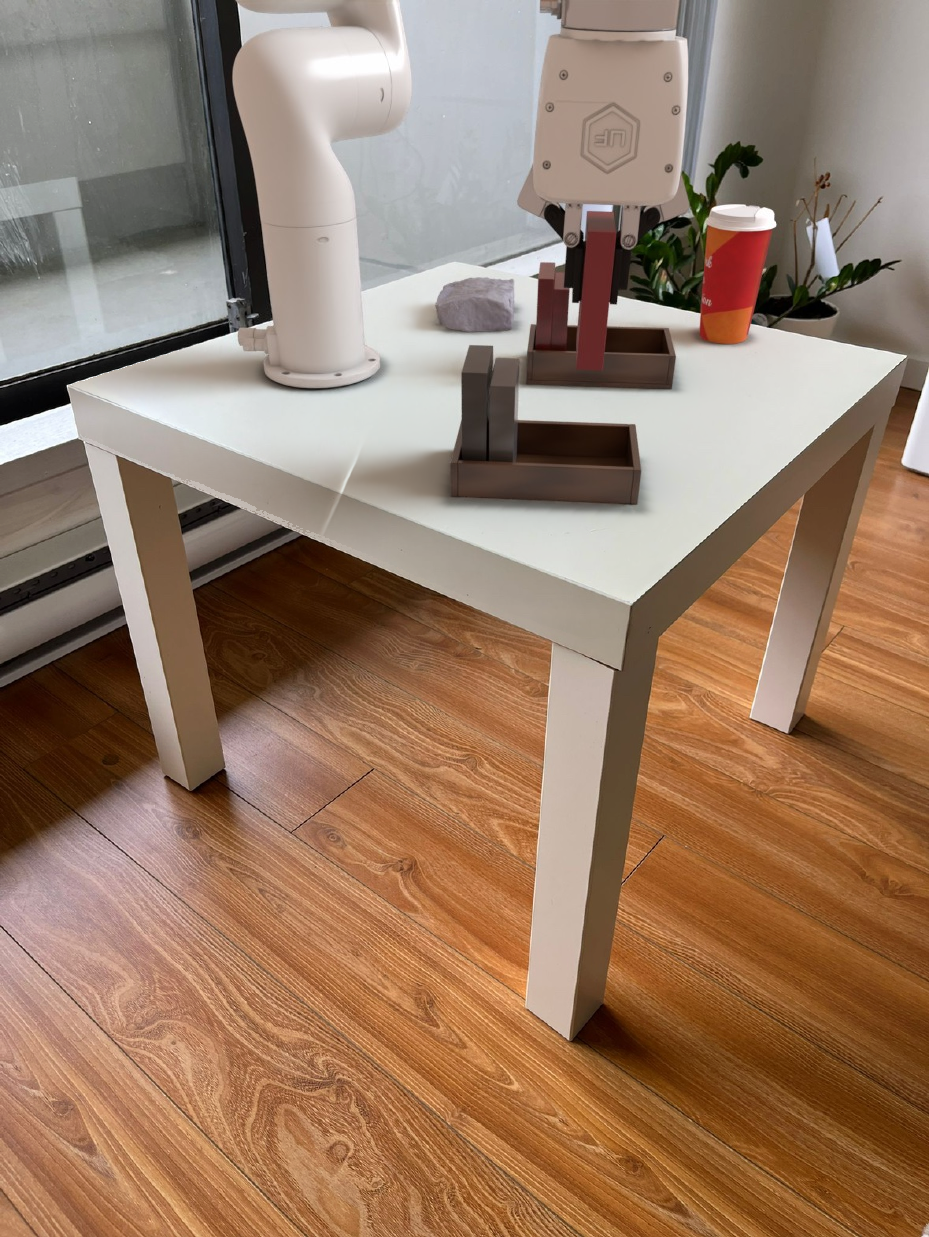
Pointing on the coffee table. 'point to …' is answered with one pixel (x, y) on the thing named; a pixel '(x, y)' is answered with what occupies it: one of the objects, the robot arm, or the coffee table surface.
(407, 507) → the coffee table surface
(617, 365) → the brown open box
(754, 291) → the paper cup
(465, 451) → the brown crate
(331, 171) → the robot arm
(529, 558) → the coffee table surface
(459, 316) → the stone block
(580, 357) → the burgundy book
